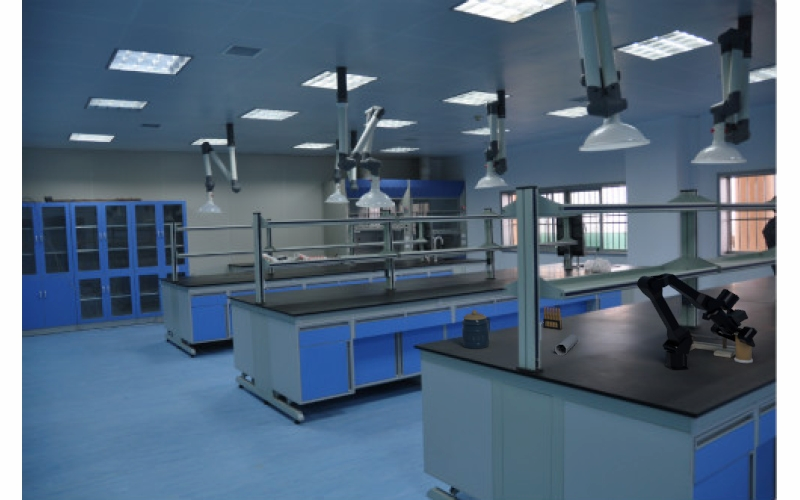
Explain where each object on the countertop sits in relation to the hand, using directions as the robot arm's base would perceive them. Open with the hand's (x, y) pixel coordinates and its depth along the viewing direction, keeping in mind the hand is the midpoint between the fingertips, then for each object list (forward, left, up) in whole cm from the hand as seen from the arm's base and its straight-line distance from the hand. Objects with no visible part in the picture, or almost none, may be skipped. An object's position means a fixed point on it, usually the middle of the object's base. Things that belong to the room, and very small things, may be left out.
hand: (746, 344), depth 212 cm
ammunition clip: (-52, +79, -7) cm, 95 cm away
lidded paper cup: (-1, 0, -7) cm, 7 cm away
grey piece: (-5, +18, -7) cm, 20 cm away
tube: (-60, +36, -7) cm, 70 cm away
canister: (-99, +51, -7) cm, 112 cm away
